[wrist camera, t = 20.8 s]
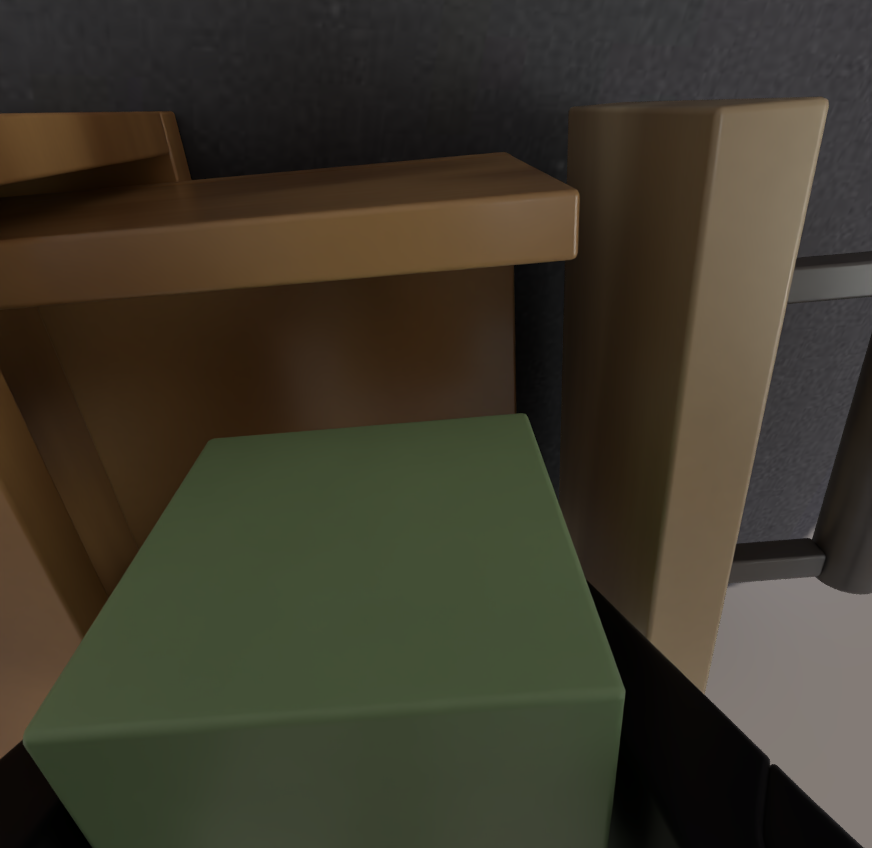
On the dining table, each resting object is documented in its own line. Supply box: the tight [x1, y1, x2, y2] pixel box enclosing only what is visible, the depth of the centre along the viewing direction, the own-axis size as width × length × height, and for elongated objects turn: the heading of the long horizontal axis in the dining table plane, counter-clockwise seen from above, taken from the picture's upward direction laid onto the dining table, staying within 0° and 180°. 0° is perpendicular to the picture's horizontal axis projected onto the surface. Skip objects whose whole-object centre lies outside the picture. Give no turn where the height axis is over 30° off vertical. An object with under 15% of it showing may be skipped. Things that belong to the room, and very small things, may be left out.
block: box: [23, 413, 626, 848], centre depth 7 cm, size 4×4×4 cm
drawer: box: [0, 97, 872, 694], centre depth 12 cm, size 18×11×7 cm, turn 95°
